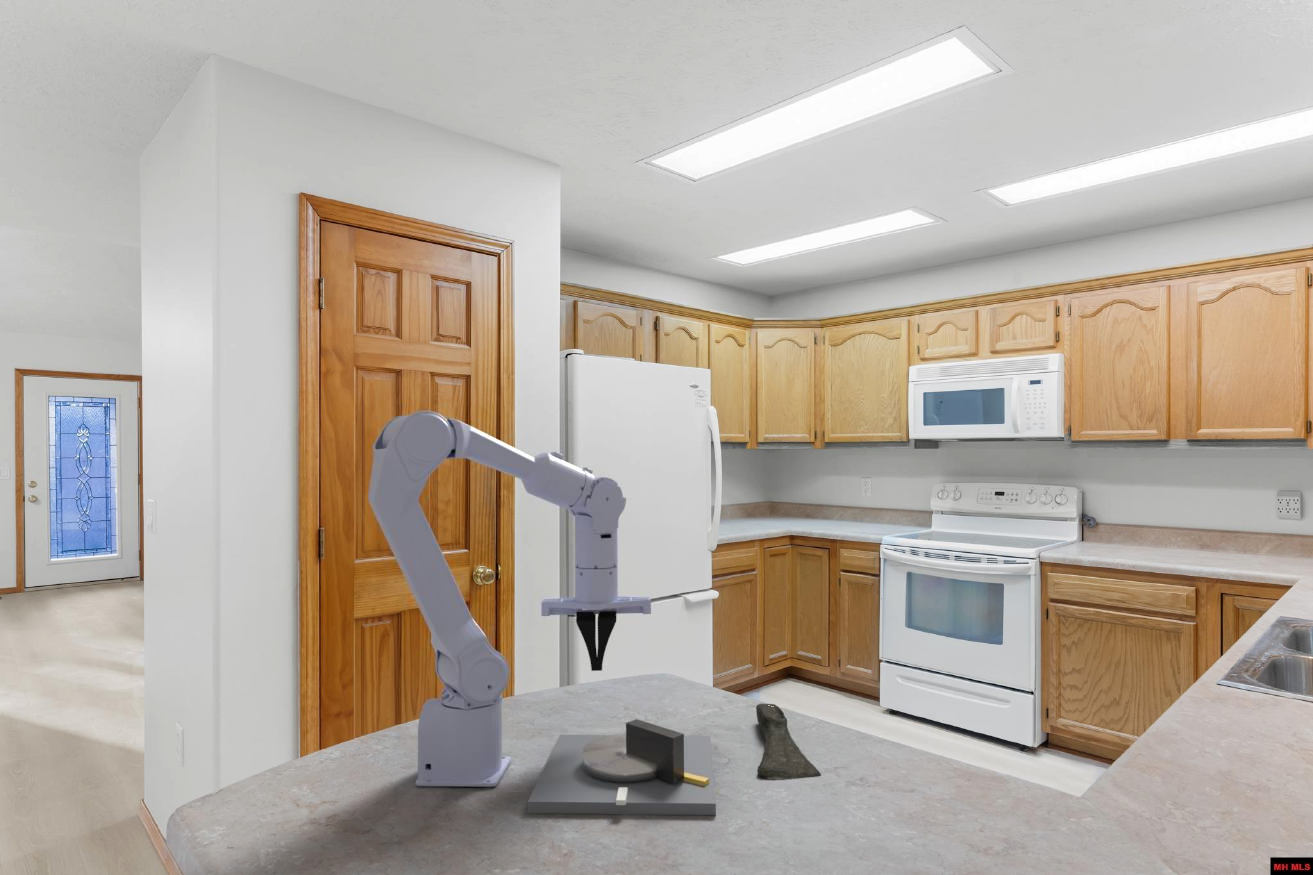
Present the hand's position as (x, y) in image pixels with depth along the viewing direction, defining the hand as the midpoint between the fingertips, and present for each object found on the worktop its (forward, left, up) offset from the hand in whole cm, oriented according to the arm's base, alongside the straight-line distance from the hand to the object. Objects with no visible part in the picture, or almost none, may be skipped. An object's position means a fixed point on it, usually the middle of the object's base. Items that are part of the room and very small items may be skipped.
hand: (596, 668), depth 100 cm
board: (+5, -10, -10) cm, 15 cm away
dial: (+6, -11, -8) cm, 15 cm away
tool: (+25, -1, -10) cm, 27 cm away
